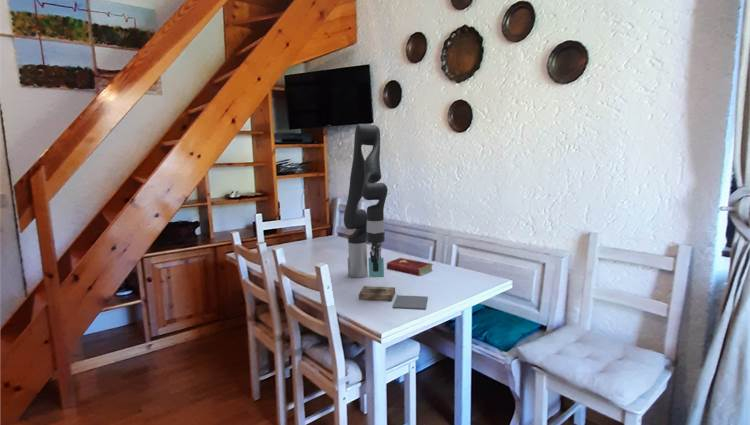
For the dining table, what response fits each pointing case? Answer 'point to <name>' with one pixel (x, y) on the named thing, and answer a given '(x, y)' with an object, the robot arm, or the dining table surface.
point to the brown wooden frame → (377, 293)
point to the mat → (410, 302)
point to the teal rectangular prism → (380, 268)
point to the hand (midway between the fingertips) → (376, 270)
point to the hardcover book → (409, 266)
